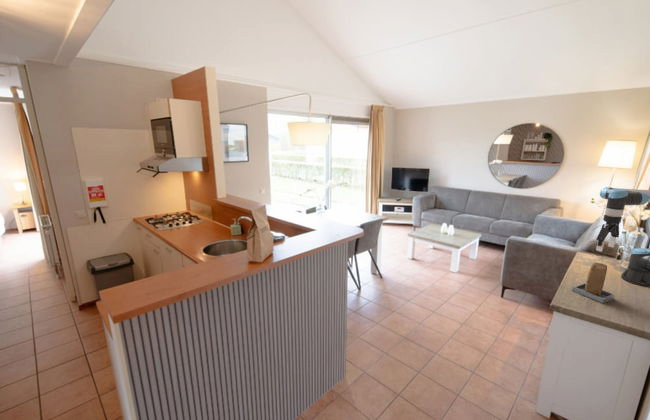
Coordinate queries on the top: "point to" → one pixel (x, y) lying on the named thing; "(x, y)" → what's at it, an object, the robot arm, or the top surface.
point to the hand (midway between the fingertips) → (604, 248)
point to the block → (596, 279)
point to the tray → (603, 297)
